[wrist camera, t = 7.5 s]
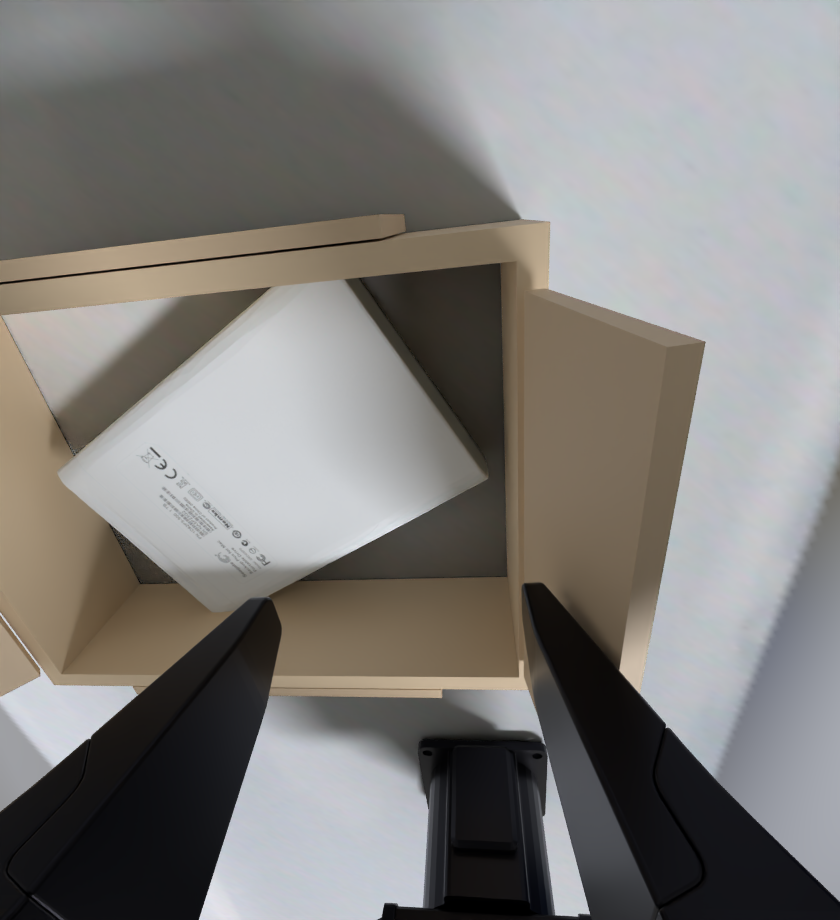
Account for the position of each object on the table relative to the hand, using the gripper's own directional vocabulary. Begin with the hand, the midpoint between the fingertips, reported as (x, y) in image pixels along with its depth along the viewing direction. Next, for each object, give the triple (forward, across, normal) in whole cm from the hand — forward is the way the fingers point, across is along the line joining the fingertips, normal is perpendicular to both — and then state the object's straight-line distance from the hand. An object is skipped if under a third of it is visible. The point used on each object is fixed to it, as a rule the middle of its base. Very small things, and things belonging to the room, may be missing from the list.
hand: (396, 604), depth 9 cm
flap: (0, -3, 0) cm, 3 cm away
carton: (+7, +5, 0) cm, 9 cm away
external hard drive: (+7, +5, 0) cm, 9 cm away
